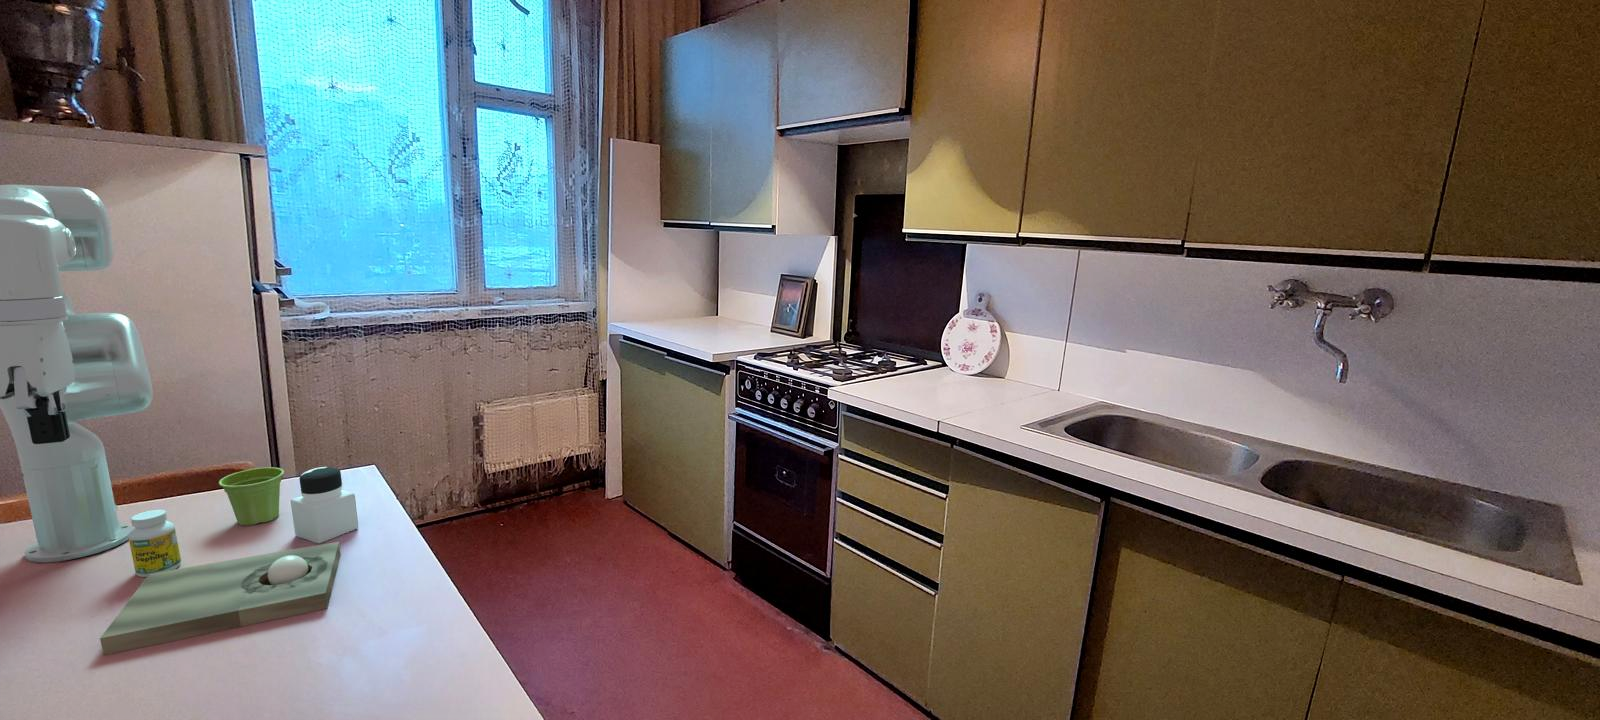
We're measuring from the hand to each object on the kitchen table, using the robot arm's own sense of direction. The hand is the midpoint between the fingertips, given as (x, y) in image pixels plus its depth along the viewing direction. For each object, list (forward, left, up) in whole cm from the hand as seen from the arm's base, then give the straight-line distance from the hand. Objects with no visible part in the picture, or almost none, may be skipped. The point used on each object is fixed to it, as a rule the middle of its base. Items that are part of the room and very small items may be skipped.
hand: (51, 441), depth 92 cm
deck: (+8, +19, -25) cm, 32 cm away
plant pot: (-24, +16, -25) cm, 38 cm away
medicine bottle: (-12, +28, -25) cm, 40 cm away
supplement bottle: (-8, +6, -25) cm, 27 cm away
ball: (+7, +25, -23) cm, 35 cm away
